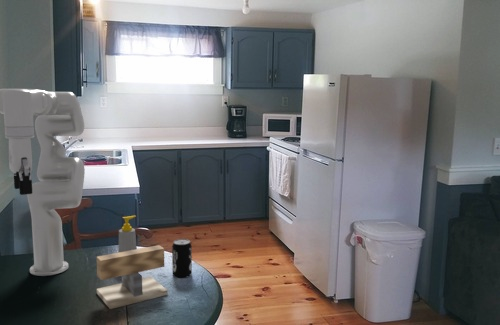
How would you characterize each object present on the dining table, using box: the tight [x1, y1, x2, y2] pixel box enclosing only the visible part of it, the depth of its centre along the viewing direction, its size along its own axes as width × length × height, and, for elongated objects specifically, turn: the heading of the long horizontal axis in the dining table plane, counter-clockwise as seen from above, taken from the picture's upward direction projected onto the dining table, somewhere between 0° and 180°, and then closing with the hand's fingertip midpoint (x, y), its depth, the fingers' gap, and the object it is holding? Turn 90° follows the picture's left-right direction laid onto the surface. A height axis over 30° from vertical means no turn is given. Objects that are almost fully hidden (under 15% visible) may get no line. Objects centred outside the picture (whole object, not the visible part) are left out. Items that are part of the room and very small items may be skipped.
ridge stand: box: [96, 272, 168, 310], centre depth 143 cm, size 13×18×8 cm
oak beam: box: [96, 244, 165, 281], centre depth 142 cm, size 20×4×6 cm, turn 125°
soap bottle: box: [117, 215, 138, 253], centre depth 168 cm, size 7×7×18 cm
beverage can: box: [171, 238, 193, 279], centre depth 159 cm, size 7×7×12 cm
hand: (23, 191), depth 135 cm, fingers open, 9 cm apart
